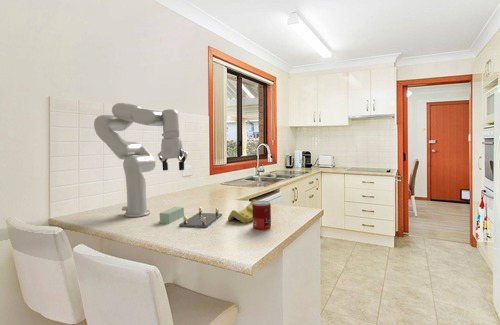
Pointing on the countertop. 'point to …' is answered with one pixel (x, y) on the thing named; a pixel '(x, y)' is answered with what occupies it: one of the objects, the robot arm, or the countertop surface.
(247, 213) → the plastic component
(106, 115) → the robot arm
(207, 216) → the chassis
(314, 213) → the countertop surface
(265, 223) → the canned food
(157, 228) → the countertop surface
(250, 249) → the countertop surface
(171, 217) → the board block
